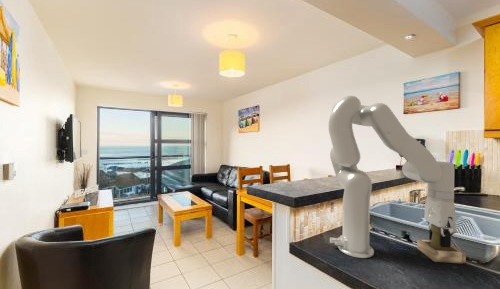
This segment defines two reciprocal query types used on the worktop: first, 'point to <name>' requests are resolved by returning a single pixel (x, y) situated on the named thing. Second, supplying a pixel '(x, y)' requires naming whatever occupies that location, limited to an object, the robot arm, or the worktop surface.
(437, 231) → the cork
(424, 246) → the socket block
